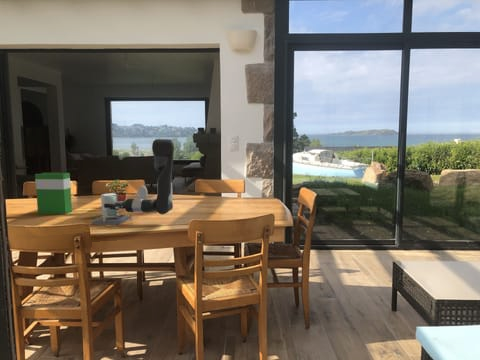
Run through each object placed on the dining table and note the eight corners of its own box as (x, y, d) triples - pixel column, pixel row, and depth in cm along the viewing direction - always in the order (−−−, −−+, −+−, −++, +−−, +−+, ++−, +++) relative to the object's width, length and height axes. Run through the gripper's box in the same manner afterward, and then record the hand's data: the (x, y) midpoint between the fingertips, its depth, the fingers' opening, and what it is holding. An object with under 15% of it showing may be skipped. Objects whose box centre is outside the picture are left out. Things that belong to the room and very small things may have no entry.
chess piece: (138, 207, 259) (138, 184, 257) (152, 207, 257) (151, 184, 255) (130, 210, 250) (130, 186, 248) (145, 211, 247) (144, 187, 245)
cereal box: (37, 213, 241) (35, 174, 238) (45, 211, 248) (42, 172, 245) (65, 214, 239) (63, 174, 236) (72, 211, 247) (69, 173, 243)
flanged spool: (109, 214, 225) (108, 195, 223) (122, 215, 223) (121, 195, 222) (101, 217, 217) (100, 197, 216) (115, 218, 216) (114, 198, 214)
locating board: (108, 217, 231) (108, 209, 230) (131, 218, 228) (131, 210, 227) (91, 224, 213) (91, 216, 213) (115, 225, 211) (115, 217, 210)
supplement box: (105, 217, 231) (104, 195, 229) (101, 215, 237) (100, 194, 235) (118, 215, 235) (117, 194, 233) (114, 213, 241) (113, 192, 239)
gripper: (141, 196, 223) (113, 195, 226) (129, 201, 209) (99, 200, 212) (141, 209, 224) (113, 208, 227) (130, 215, 210) (100, 214, 213)
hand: (107, 204), depth 220 cm, fingers closed on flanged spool, 5 cm apart
